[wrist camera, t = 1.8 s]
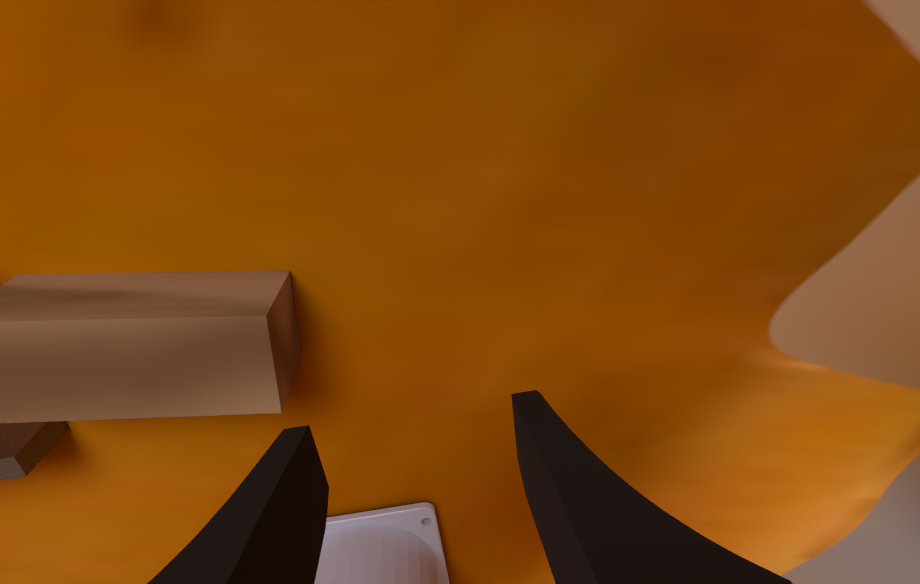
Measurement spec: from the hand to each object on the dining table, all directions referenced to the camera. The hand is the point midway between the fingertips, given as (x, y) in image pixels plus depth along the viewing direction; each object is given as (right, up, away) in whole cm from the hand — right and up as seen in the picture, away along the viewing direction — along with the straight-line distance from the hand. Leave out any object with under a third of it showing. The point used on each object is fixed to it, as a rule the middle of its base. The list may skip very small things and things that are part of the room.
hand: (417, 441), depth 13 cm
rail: (-11, +3, +8) cm, 14 cm away
